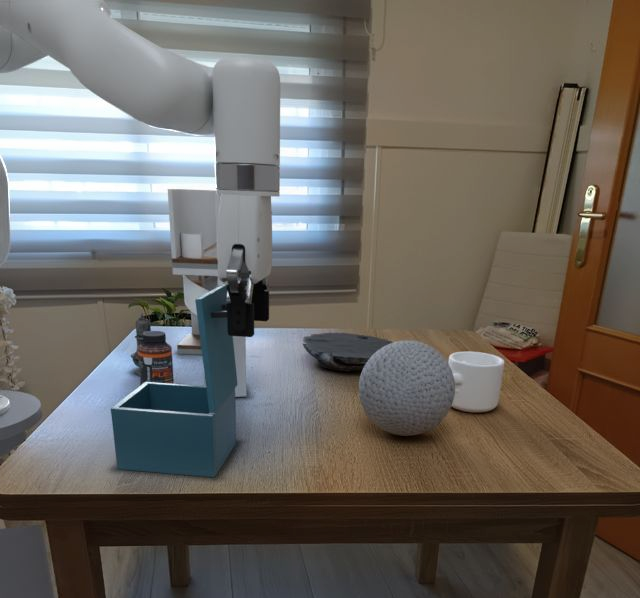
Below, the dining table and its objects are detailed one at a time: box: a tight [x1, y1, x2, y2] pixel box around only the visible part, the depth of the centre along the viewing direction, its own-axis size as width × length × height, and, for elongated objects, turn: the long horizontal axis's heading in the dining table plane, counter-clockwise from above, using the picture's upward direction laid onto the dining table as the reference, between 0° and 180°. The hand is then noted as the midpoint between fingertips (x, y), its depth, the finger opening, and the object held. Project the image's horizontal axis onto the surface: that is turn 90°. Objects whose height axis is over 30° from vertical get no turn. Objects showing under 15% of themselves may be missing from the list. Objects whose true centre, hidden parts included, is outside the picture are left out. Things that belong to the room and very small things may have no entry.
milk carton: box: [203, 336, 247, 398], centre depth 105 cm, size 7×7×19 cm
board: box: [302, 332, 395, 372], centre depth 127 cm, size 22×22×5 cm
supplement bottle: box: [138, 330, 175, 386], centre depth 105 cm, size 6×6×11 cm
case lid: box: [195, 285, 252, 413], centre depth 75 cm, size 14×12×5 cm
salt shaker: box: [130, 313, 152, 376], centre depth 116 cm, size 6×6×12 cm
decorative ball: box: [358, 339, 455, 437], centre depth 90 cm, size 15×15×15 cm
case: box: [110, 382, 237, 478], centre depth 81 cm, size 14×12×9 cm
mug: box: [447, 351, 506, 413], centre depth 105 cm, size 12×10×9 cm
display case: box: [167, 188, 228, 355], centre depth 130 cm, size 11×11×35 cm
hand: (249, 327), depth 74 cm, fingers open, 8 cm apart
